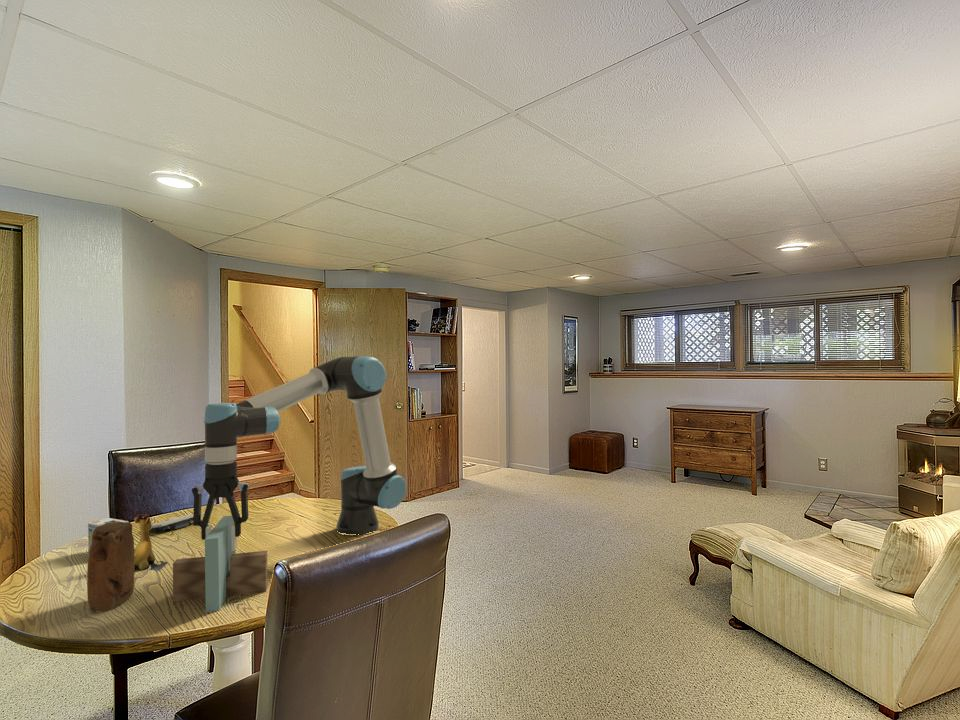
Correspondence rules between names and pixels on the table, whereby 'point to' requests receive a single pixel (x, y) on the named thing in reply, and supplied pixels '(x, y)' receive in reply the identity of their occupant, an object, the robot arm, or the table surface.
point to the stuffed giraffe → (145, 547)
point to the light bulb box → (95, 524)
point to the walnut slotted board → (242, 578)
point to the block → (110, 566)
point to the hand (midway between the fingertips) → (221, 550)
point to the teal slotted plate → (218, 563)
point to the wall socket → (173, 523)
